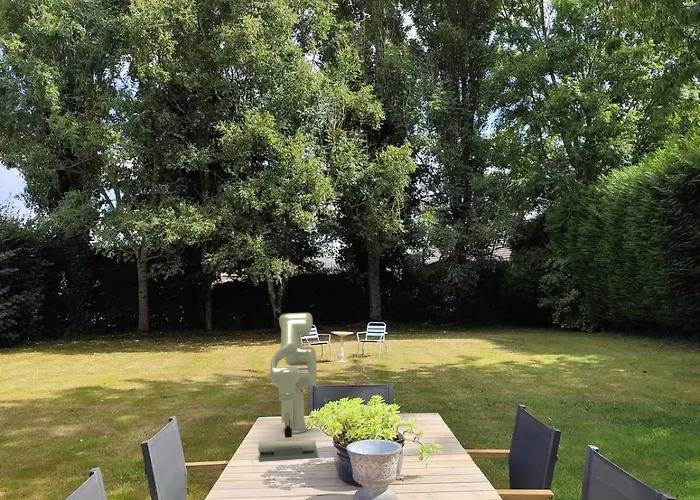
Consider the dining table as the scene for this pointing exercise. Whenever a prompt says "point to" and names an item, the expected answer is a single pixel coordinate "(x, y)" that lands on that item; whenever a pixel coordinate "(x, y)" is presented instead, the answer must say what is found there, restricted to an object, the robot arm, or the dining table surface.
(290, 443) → the tube
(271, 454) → the galvanized metal plate
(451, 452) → the dining table surface
